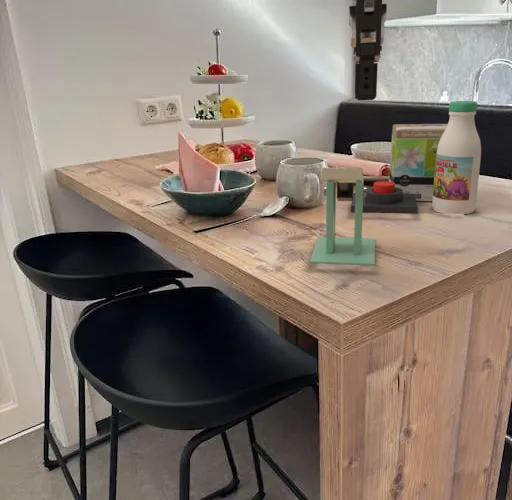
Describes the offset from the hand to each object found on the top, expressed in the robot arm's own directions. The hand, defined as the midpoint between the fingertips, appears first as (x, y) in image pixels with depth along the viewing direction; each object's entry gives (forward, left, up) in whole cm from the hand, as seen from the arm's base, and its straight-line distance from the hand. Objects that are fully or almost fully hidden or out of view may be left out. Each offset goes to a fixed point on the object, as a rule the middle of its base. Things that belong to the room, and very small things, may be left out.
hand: (364, 97), depth 58 cm
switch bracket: (+2, -10, -23) cm, 25 cm away
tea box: (-13, -47, -24) cm, 54 cm away
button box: (-4, -36, -23) cm, 43 cm away
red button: (-3, -36, -20) cm, 41 cm away
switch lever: (+2, -5, -13) cm, 14 cm away
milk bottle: (-17, -37, -24) cm, 47 cm away
